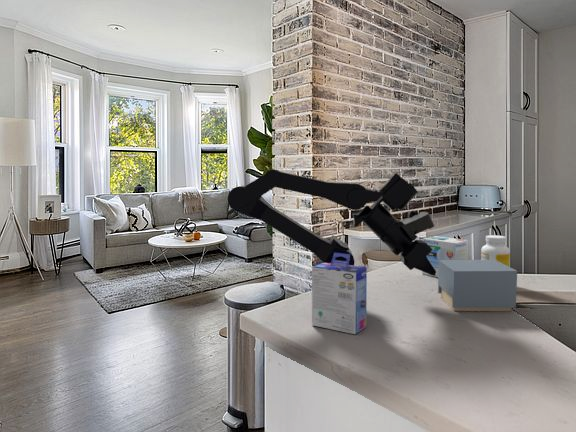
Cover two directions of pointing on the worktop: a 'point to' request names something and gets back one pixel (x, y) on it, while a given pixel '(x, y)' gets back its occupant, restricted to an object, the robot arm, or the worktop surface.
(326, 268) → the ink cartridge box
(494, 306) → the sleeve
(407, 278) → the worktop surface
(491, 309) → the tray
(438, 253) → the light bulb box
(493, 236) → the supplement bottle
